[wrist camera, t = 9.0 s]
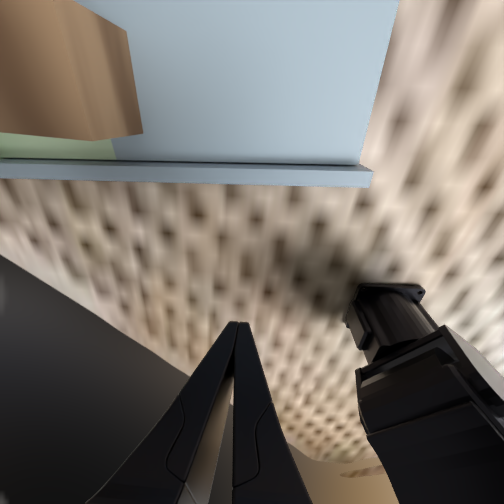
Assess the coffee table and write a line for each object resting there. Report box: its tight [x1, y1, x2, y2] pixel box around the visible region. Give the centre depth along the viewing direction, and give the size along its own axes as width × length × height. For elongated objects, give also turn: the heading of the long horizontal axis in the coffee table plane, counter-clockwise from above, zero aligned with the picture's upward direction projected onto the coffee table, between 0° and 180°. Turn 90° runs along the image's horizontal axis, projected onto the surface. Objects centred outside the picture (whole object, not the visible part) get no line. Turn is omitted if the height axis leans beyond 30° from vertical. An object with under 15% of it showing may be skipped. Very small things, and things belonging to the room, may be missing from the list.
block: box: [0, 0, 143, 141], centre depth 11 cm, size 5×5×5 cm
